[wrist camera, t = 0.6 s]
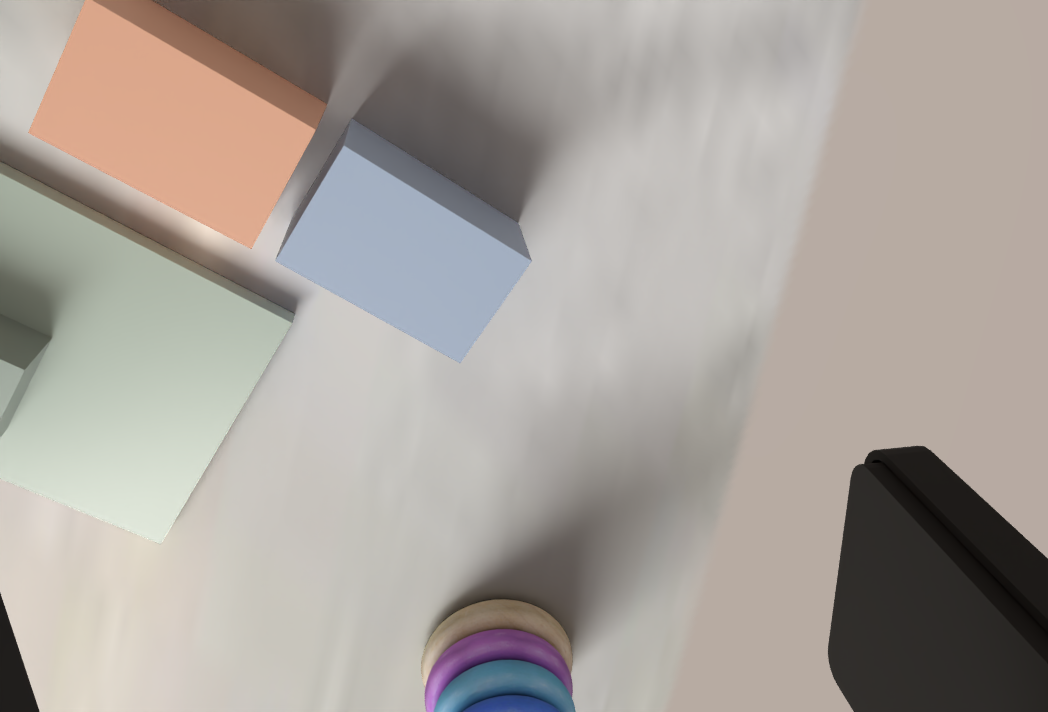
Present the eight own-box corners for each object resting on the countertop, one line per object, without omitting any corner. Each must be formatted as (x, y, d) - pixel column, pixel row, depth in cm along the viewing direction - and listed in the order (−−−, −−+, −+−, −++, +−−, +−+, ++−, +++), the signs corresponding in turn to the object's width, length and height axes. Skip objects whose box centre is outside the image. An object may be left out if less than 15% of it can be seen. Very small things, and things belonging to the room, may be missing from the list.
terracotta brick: (129, -14, 33) (86, -4, 29) (327, 103, 36) (315, 129, 32) (76, 105, 35) (28, 132, 31) (270, 209, 38) (251, 248, 33)
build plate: (-94, 112, 34) (-153, 135, 31) (294, 313, 39) (283, 353, 36) (-200, 380, 38) (-263, 428, 35) (165, 531, 43) (143, 586, 40)
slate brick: (352, 117, 36) (343, 145, 32) (517, 221, 39) (531, 260, 34) (291, 220, 38) (274, 261, 33) (454, 314, 40) (460, 363, 36)
